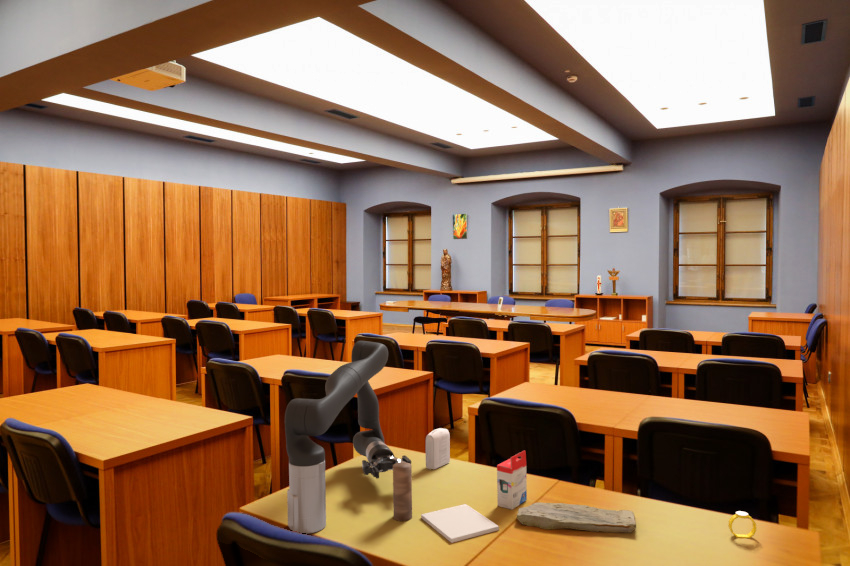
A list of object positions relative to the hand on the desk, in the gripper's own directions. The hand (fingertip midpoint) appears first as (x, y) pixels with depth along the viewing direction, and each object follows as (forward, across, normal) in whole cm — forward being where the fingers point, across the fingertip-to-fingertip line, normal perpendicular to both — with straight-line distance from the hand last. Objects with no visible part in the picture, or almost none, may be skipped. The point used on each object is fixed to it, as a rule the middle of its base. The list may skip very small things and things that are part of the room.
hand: (392, 473), depth 165 cm
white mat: (+20, +13, +8) cm, 25 cm away
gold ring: (+50, +76, +8) cm, 91 cm away
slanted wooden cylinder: (+11, 0, +8) cm, 14 cm away
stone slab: (+29, +42, +9) cm, 52 cm away
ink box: (+13, +32, +8) cm, 35 cm away
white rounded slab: (-24, +22, +8) cm, 34 cm away
